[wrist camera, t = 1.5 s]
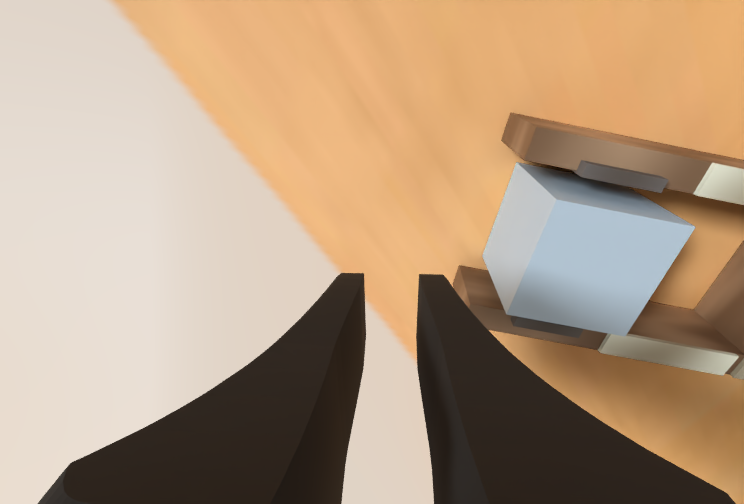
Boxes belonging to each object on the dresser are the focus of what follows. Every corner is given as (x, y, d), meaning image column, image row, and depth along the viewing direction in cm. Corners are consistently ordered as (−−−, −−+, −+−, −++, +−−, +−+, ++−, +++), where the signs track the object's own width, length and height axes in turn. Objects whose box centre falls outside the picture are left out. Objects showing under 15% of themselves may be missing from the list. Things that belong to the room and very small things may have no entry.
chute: (819, 175, 17) (930, 208, 13) (702, 331, 21) (762, 386, 18) (510, 112, 17) (541, 129, 13) (452, 284, 21) (464, 331, 17)
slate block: (621, 183, 18) (695, 226, 13) (575, 273, 20) (625, 336, 16) (516, 162, 18) (556, 199, 13) (482, 256, 20) (506, 314, 15)
